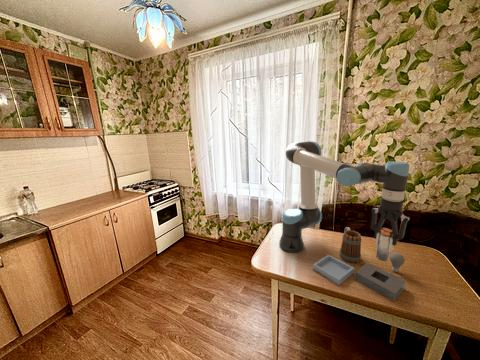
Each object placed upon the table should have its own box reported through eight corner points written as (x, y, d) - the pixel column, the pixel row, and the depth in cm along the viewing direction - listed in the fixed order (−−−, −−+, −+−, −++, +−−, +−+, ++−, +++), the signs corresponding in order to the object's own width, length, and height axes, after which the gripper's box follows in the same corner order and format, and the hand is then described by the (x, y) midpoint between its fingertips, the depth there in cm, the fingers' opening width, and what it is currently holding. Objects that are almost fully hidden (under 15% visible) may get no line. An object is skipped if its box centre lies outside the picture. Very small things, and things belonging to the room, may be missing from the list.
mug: (363, 264, 106) (366, 239, 102) (342, 262, 108) (344, 237, 105) (353, 247, 121) (356, 225, 117) (335, 246, 123) (337, 224, 119)
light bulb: (400, 268, 102) (403, 251, 99) (404, 276, 96) (407, 258, 94) (386, 266, 104) (388, 249, 102) (389, 273, 99) (392, 255, 96)
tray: (312, 269, 104) (312, 264, 103) (328, 259, 111) (328, 254, 110) (338, 285, 92) (338, 280, 92) (353, 273, 100) (354, 268, 99)
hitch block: (354, 279, 96) (355, 272, 95) (366, 269, 102) (367, 262, 101) (394, 301, 83) (395, 293, 82) (404, 288, 89) (406, 281, 88)
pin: (378, 253, 92) (383, 226, 89) (389, 258, 89) (394, 230, 85) (374, 257, 90) (378, 229, 87) (385, 262, 87) (390, 233, 83)
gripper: (365, 195, 87) (359, 242, 93) (415, 207, 73) (404, 261, 79) (373, 192, 92) (366, 237, 97) (422, 202, 77) (411, 254, 83)
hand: (383, 247), depth 88 cm, fingers closed on pin, 4 cm apart
